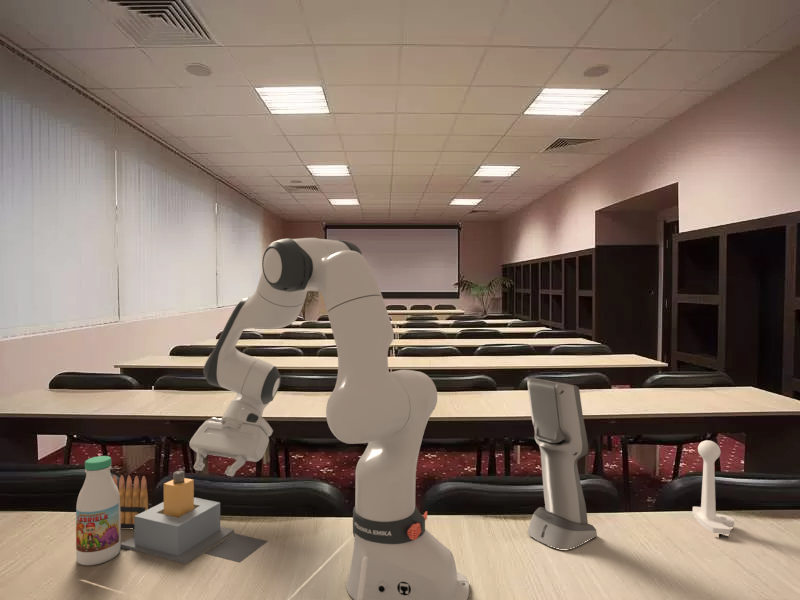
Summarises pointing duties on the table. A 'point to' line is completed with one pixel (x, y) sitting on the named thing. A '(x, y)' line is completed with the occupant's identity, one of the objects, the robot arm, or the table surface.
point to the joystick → (710, 492)
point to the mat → (236, 547)
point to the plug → (178, 495)
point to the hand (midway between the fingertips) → (212, 472)
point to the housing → (178, 532)
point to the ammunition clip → (131, 500)
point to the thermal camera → (559, 464)
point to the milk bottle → (98, 514)
